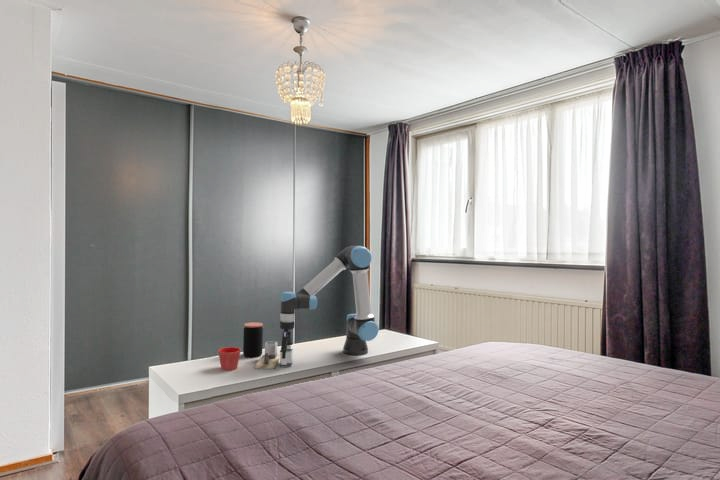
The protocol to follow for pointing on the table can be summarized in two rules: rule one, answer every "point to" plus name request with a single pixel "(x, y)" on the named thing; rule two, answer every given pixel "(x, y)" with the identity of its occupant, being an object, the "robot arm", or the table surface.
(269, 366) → the pin board
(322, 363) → the table surface
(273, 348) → the sleeve
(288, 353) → the sleeve
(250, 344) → the coffee jar
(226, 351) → the flower pot
